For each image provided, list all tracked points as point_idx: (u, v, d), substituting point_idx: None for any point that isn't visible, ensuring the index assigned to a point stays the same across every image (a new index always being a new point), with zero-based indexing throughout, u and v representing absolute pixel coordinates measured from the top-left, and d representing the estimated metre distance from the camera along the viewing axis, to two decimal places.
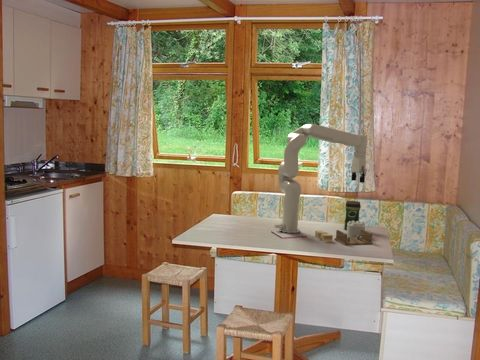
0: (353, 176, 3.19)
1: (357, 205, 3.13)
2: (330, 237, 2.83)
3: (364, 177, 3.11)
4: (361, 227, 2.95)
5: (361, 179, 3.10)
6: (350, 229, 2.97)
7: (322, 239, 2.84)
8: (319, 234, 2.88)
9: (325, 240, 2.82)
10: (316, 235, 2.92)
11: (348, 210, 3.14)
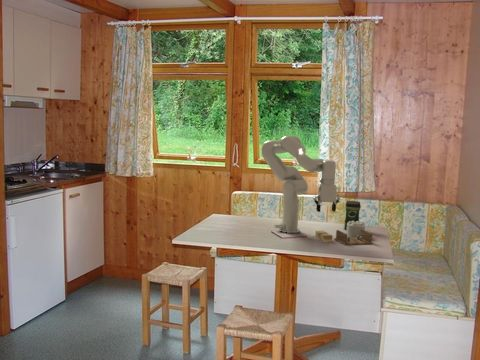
0: None
1: (357, 205, 3.13)
2: (330, 237, 2.83)
3: None
4: (361, 227, 2.95)
5: (335, 208, 2.88)
6: (350, 229, 2.97)
7: (322, 239, 2.84)
8: (319, 234, 2.88)
9: (325, 240, 2.82)
10: (316, 235, 2.92)
11: (348, 210, 3.14)
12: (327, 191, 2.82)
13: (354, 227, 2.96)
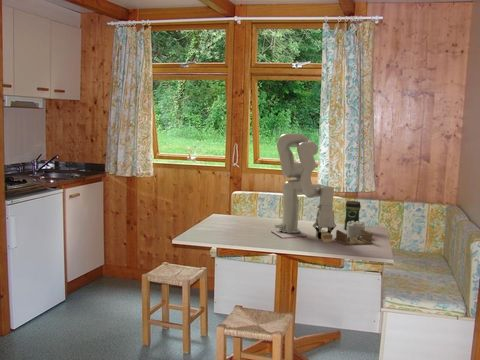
0: None
1: (357, 205, 3.13)
2: (330, 237, 2.83)
3: None
4: (361, 227, 2.95)
5: None
6: (350, 229, 2.97)
7: (322, 239, 2.84)
8: None
9: (325, 240, 2.82)
10: (316, 235, 2.92)
11: (348, 210, 3.14)
12: (325, 217, 2.84)
13: (354, 227, 2.96)
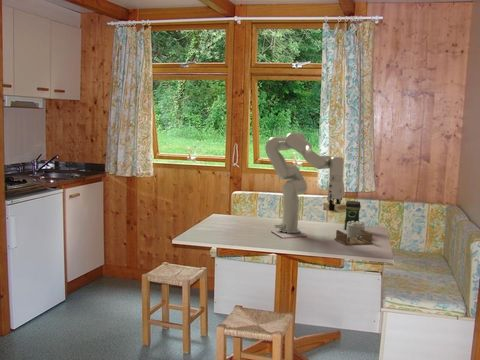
0: None
1: (357, 205, 3.13)
2: (344, 207, 2.81)
3: (335, 203, 2.88)
4: (361, 227, 2.95)
5: None
6: (350, 229, 2.96)
7: (337, 210, 2.81)
8: None
9: (341, 211, 2.80)
10: (325, 207, 2.86)
11: (348, 210, 3.14)
12: (338, 188, 2.81)
13: (354, 227, 2.96)
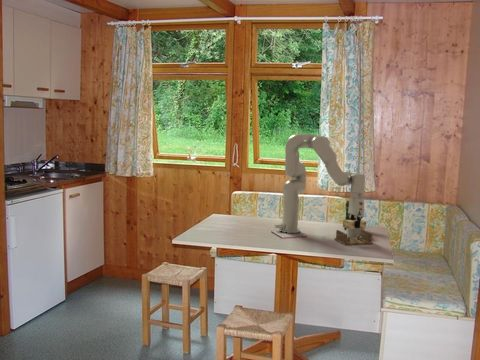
0: None
1: None
2: None
3: None
4: None
5: None
6: (350, 229, 2.96)
7: (362, 226, 2.83)
8: None
9: None
10: (349, 225, 2.81)
11: None
12: None
13: None
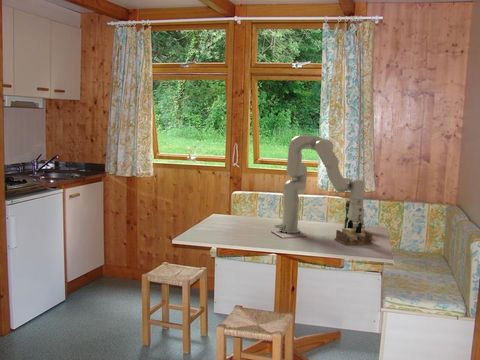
0: None
1: None
2: None
3: (348, 223, 2.88)
4: None
5: None
6: None
7: (361, 235, 2.84)
8: (355, 231, 2.82)
9: None
10: (349, 234, 2.81)
11: (348, 210, 3.14)
12: None
13: (354, 227, 2.95)
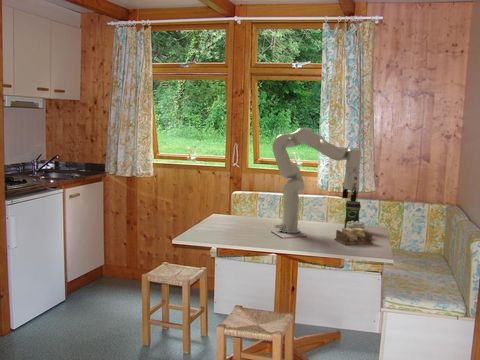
0: None
1: (357, 205, 3.13)
2: None
3: (343, 192, 2.91)
4: (361, 227, 2.95)
5: None
6: None
7: (361, 235, 2.84)
8: (355, 231, 2.82)
9: None
10: (349, 234, 2.81)
11: (348, 210, 3.14)
12: None
13: (354, 227, 2.95)
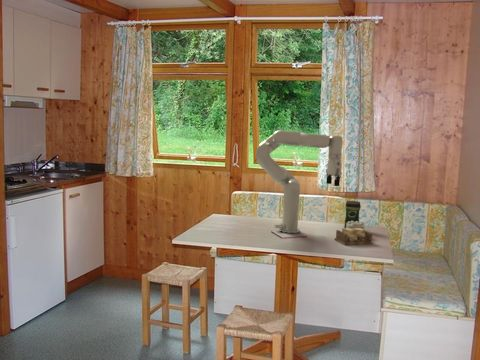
0: None
1: (357, 205, 3.13)
2: None
3: None
4: (360, 227, 2.95)
5: None
6: None
7: (361, 235, 2.84)
8: (355, 231, 2.82)
9: None
10: (349, 234, 2.81)
11: (348, 210, 3.14)
12: None
13: (354, 227, 2.95)
